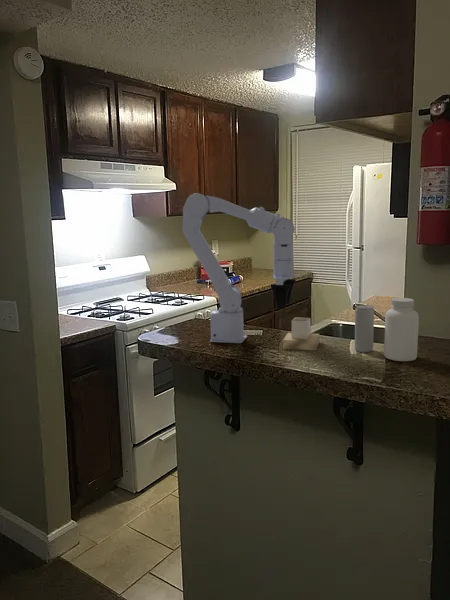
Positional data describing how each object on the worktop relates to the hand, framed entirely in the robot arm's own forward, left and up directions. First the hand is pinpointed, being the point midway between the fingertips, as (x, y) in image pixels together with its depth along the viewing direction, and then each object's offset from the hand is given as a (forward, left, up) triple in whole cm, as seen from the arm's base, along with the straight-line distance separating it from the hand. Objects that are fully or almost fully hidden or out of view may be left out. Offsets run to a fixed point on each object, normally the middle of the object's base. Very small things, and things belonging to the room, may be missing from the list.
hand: (283, 306), depth 149 cm
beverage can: (+23, -9, -10) cm, 27 cm away
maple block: (+6, -6, -10) cm, 14 cm away
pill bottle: (+32, -14, -10) cm, 36 cm away
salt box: (+6, -7, -8) cm, 12 cm away
